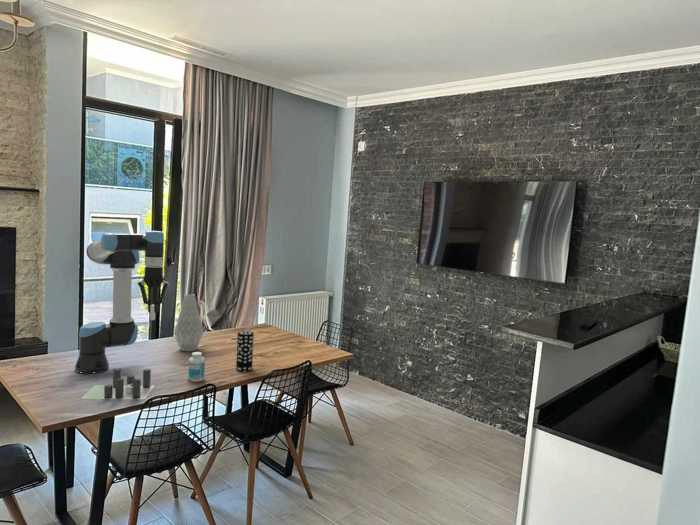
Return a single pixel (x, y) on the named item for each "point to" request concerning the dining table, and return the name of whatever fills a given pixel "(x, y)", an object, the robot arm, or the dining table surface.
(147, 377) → the spacers
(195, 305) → the vase
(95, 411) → the dining table surface
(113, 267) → the robot arm
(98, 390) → the board
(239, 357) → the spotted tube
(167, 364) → the dining table surface
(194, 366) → the pill bottle
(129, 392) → the nut
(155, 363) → the dining table surface
